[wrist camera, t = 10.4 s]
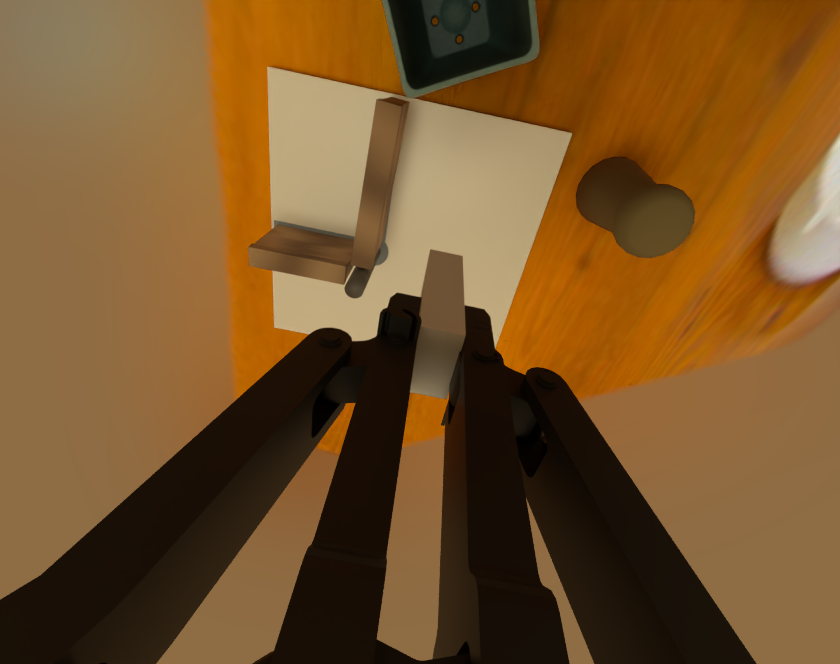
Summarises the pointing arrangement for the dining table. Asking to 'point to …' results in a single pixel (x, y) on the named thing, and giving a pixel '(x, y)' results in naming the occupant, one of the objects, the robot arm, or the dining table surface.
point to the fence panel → (378, 178)
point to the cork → (635, 207)
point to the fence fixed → (310, 257)
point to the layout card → (404, 197)
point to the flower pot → (477, 53)
